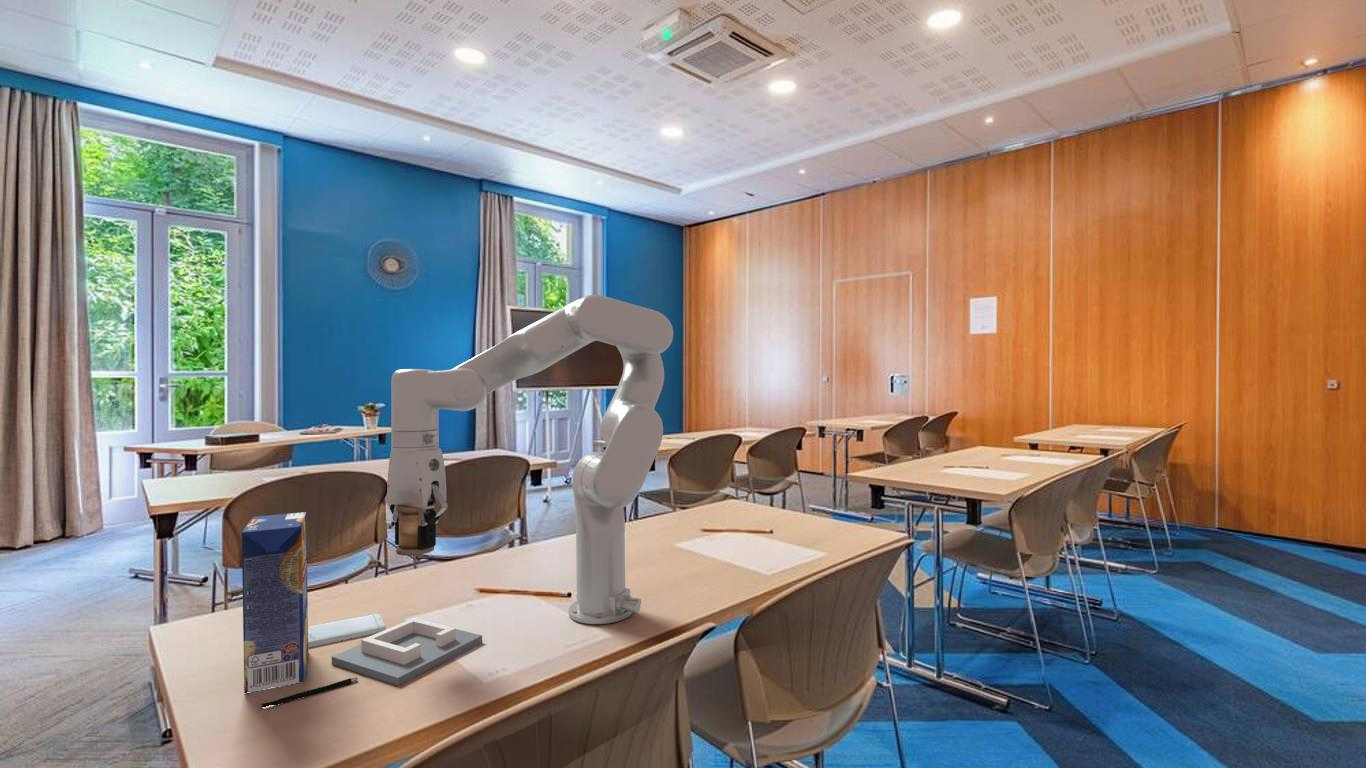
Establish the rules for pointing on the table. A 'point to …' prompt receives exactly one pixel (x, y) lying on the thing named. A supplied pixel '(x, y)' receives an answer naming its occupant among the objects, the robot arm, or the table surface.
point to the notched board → (406, 650)
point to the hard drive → (344, 629)
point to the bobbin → (409, 531)
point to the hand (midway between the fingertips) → (415, 544)
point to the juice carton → (275, 601)
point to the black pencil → (311, 692)
